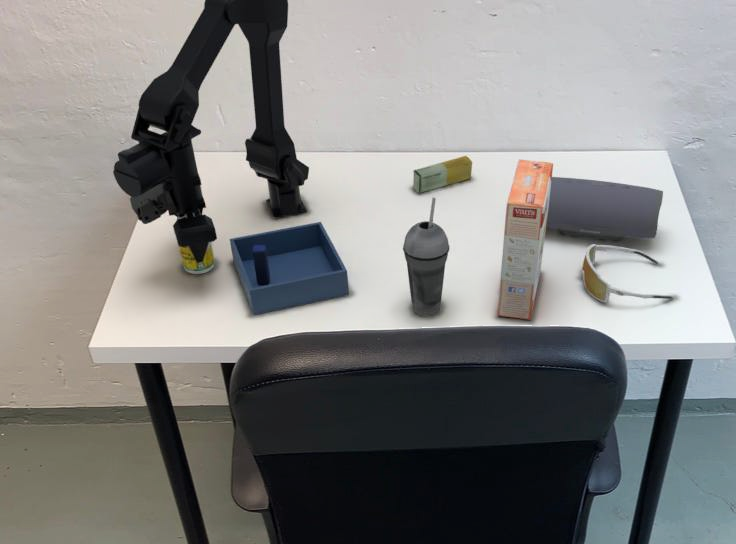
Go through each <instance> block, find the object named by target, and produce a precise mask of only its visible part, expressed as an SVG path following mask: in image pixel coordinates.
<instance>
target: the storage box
mask: <svg viewBox="0 0 736 544" xmlns="http://www.w3.org/2000/svg"><path fill="white" fill-rule="evenodd" d="M229 244H230V249H231V254H232V261H233V265H234V268H235V269H236V272H237V275H238V277H239V280H240V283H241V286H242V288H243V291H244V293H245V296H246V299H247V302H248V304H249V306H250V310H251V313H252V314H253V316H255V315H261V314H265V313H269V312H274V311H280V310H283V309H288V308H295V307H297V306H302V305H307V304H313V303H315V302H321V301H327V300H331V299H335V298H340V297H344V296H345V297H346V296H349V295H350V291H349V277H348V270H347V268H346V266H345V264H344V262H343V261H342V259H341V257H340V254H339V252H338V251H337V249H336V247H335V245H334V243H333V241H332V240H331V238H330V236H329V235H328V232H327V230H326V229H325V227H324V225H323V223H322V221H317V222H312V223H306V224H302V225H296V226H289V227H285V228H280V229H275V230H270V231H264V232H259V233H253V234H248V235H243V236H238V237H231V238H229ZM254 245H265V246H266V250H267V258H268V266H269V272H270V282H269V285H263V286H262V285H258V283H257V279H256V272H255V266H254V259H253V253H252V251H253V246H254Z"/></svg>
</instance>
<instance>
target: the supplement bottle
mask: <svg viewBox="0 0 736 544" xmlns="http://www.w3.org/2000/svg"><path fill="white" fill-rule="evenodd" d="M184 215H185V218H187V216H186V214H184ZM193 215H194V213H193ZM177 219H179V217H176V220H177ZM178 249H179V253H180V257H181V262H182V265H183V268H184V270H185V271H186V272H187V273H189V274H192V275H193V274H194V275H200V274H206V273H208V272H210V271H211V270H212V269H213V268H214V267H215V264H216V262H215V261H216V260H215V256H214V250H213V246H212V242H209V244H208V247H207V250H206V253H205V257H204V260H203V262H199V263H197V262H196V260H195V258H194V256H193V254H192V252H191V250H190V248H189V246H186V247H180V246H178Z"/></svg>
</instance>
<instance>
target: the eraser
mask: <svg viewBox="0 0 736 544" xmlns="http://www.w3.org/2000/svg"><path fill="white" fill-rule="evenodd" d="M252 253H253V259H254V266H255V272H256V279H257V283H258V285H262V286H263V285H269V282H270V272H269V266H268V258H267V250H266V246H265V245H254V246H253V251H252Z"/></svg>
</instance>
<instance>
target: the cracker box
mask: <svg viewBox="0 0 736 544" xmlns="http://www.w3.org/2000/svg"><path fill="white" fill-rule="evenodd" d="M553 169H554V163H552V162H549V161H539V160H537V161H536V160H528V159H518V160H517V163H516V167H515V171H514V174H513V178H512V182H511V186H510V189H509V194H508V197H507V200H506V206H505V207H506V208H505V219H504V229H503V244H502V255H501V256H502V257H501V266H500V268H501V269H500V280H499V290H498V301H497V302H498V303H497V316H499V317H505V318H512V319H520V320H527V321H530V320H532V315H533V310H534V305H535V301H536V295H537V290H538V286H539V282H540V281H539V280H540V276H541V268H542V263H543V254H544V248H545V247H544V246H545V239H546V232H547V227H546V224H547V216H548V207H549V198H550V190H551V180H552V177H553Z"/></svg>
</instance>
